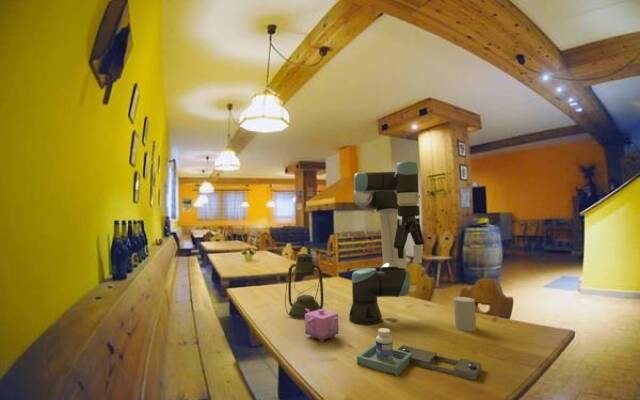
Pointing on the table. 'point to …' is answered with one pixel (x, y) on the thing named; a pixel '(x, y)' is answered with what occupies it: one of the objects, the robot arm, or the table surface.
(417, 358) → the mounting rail
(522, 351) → the table surface
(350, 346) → the table surface
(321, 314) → the teapot
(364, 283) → the robot arm
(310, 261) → the lantern
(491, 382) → the table surface
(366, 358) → the tray
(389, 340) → the pill bottle
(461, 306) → the cup
